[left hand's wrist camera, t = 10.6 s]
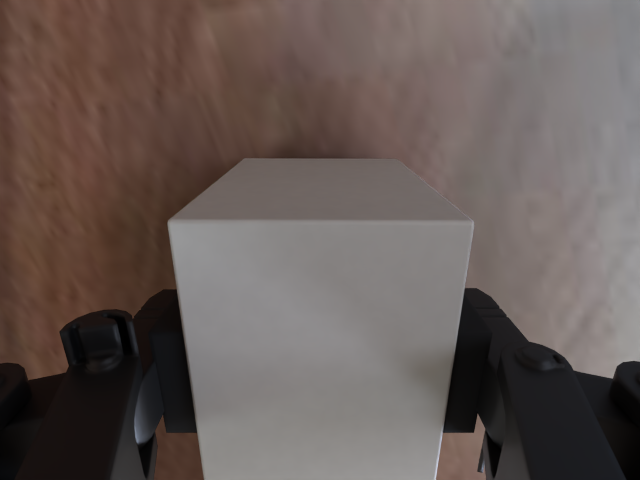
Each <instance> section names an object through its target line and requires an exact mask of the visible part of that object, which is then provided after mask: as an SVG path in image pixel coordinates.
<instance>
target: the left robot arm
mask: <svg viewBox="0 0 640 480" xmlns="http://www.w3.org/2000/svg"><path fill="white" fill-rule="evenodd" d="M60 336H61V339H62V343H63V346H64V350H65V354H66V357H67V361H68V364H69V367H68V369H67V371H66V373H62V374H58V375H53V376H48V377H43V378H38V379H33V380H28V378H27V375H26V372H25V369H24V368H23V367H22V366H20V365H19V364H14V363H2V364H0V480H154V473H155V464H156V456H157V448H158V446H157V439H156V434H155V429H156V427H157V425H158V423H159V421H160V419H161V417H162V415H163V417H164V422H165V427H166V433H197V427H196V420H195V413H194V406H193V399H192V392H191V385H190V378H189V371H188V364H187V357H186V350H185V343H184V336H183V329H182V322H181V315H180V308H179V301H178V294H177V290H162V291H161V292H159V293H157V294H156V295H154V296H152V297H151V298H149V300H148V301H147V302H146V303H145V304H144V306H143V307H142V308H141V310H139V311H138V313H137V314H136V315H135V316H134V319H132V315H130V314H129V313H128V312H126V311H122V310H117V309H115V310H102V311H97V312H92V313H89V314H86V315H84V316H81V317H78V318H76V319H75V320H73V321H71V322H70V323H68V324H66V325H65V326H64V327H63V329H62V330H61V331H60ZM477 414H479V416H480V418H481V420H482V423H483V425H484V427H485V434H484V439H483V444H482V449H481V454H480V459H479V464H478V471H477V472H481V473H483V469H484V465H485V472H486V480H640V362H637V361H630V362H623V363H621V364H620V365H618V366H617V368H616V371H615V374H614V377H613V379H611V378H606V377H601V376H596V375H591V374H586V373H581V372H577V371H573V369H572V367H571V365H570V364H569V363H568V361H567V360H566V359H565V358H564V357H563V356H562V355H560V354H559V353H557V352H556V351H554V350H552V349H550V348H548V347H545V346H543V345H540V344H536V343H532V342H529V341H528V340H527V339H526V338H525V337H524V335H523V334H522V333H521V332H520V331H519V329H518V328H517V327H516V326H515V325H514V324H513V322H512V321H511V320H510V319H509V318H508V317H506V314H505V313H504V312H503V311H502V309H499V306H498V305H497V303H496V302H495V301H494V300H493V299H492V298H491V297H490V296H489V295H487V294H485V293H484V292H482V291H480V290H479V289H477V288H465V289H464V296H463V302H462V309H461V316H460V322H459V329H458V335H457V342H456V348H455V355H454V362H453V368H452V375H451V381H450V388H449V395H448V401H447V408H446V414H445V421H444V428H443V433H474V430H475V424H476V419H477Z"/></svg>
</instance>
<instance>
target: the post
mask: <svg viewBox="0 0 640 480" xmlns="http://www.w3.org/2000/svg"><path fill="white" fill-rule="evenodd" d="M167 224H168V231H169V238H170V245H171V252H172V259H173V266H174V273H175V280H176V287H177V294H178V301H179V308H180V315H181V322H182V329H183V336H184V343H185V350H186V357H187V364H188V371H189V378H190V385H191V392H192V399H193V406H194V413H195V420H196V427H197V434H198V441H199V448H200V455H201V462H202V468H203V475H204V480H436V474H437V467H438V460H439V454H440V447H441V441H442V434H443V428H444V421H445V414H446V408H447V401H448V395H449V388H450V381H451V375H452V368H453V362H454V355H455V348H456V342H457V335H458V329H459V322H460V316H461V309H462V302H463V296H464V289H465V283H466V276H467V269H468V263H469V256H470V250H471V243H472V237H473V230H474V222H473V220H472V219H470V218H469V217H468V216H467V215H465V214H464V213H463V212H462V211H460V210H459V209H458V208H457V207H455V206H454V205H453V204H452V203H451V202H449V201H448V200H447V199H446V198H444V197H443V196H442V195H441V194H439V193H438V192H437V191H436V190H435V189H433V188H432V187H431V186H430V185H428V184H427V183H426V182H425V181H423V180H422V179H421V178H420V177H419V176H417V175H416V174H415V173H414V172H412V171H411V170H410V169H409V168H407V167H406V166H405V165H404V164H403V163H401V162H400V161H399V160H398V159H314V158H245V159H243V160H242V161H240V162H239V163H238V164H237V165H236V166H234V167H233V168H232V169H231V170H229V171H228V172H227V173H226V174H224V175H223V176H222V177H221V178H220V179H218V180H217V181H216V182H215V183H213V184H212V185H211V186H210V187H208V188H207V189H206V190H205V191H204V192H202V193H201V194H200V195H199V196H197V197H196V198H195V199H194V200H192V201H191V202H190V203H189V204H187V205H186V206H185V207H184V208H183V209H181V210H180V211H179V212H178V213H176V214H175V215H174V216H173V217H171V218H170V219H169V220H168V223H167Z"/></svg>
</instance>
